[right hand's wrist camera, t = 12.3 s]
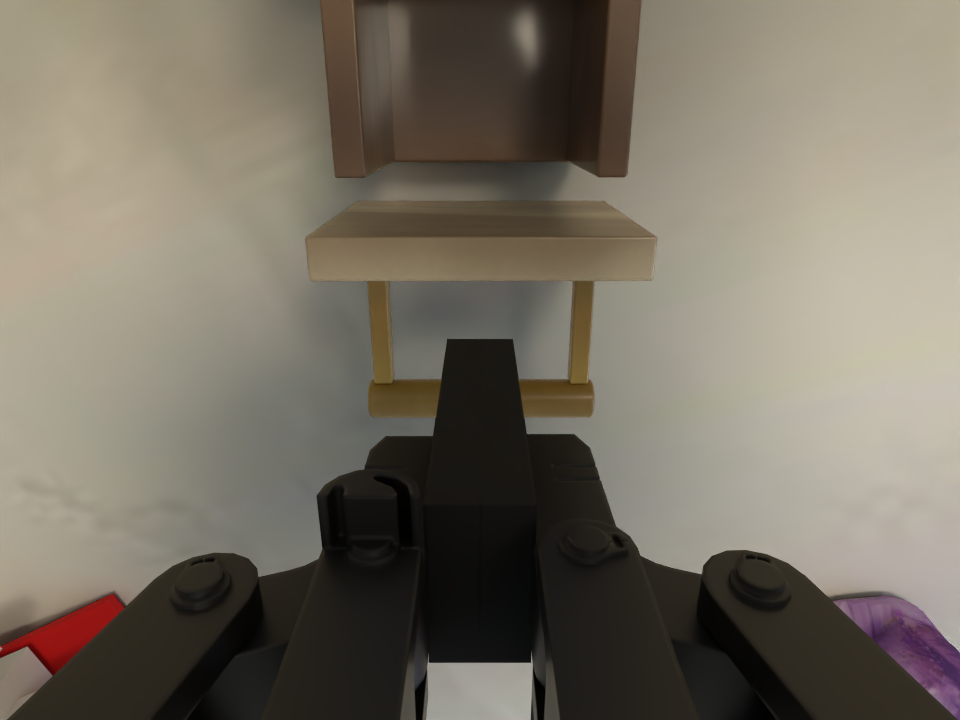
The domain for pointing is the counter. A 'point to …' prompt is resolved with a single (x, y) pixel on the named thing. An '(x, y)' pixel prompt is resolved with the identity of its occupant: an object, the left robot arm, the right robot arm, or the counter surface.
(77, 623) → the toy
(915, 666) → the figurine
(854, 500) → the counter surface
